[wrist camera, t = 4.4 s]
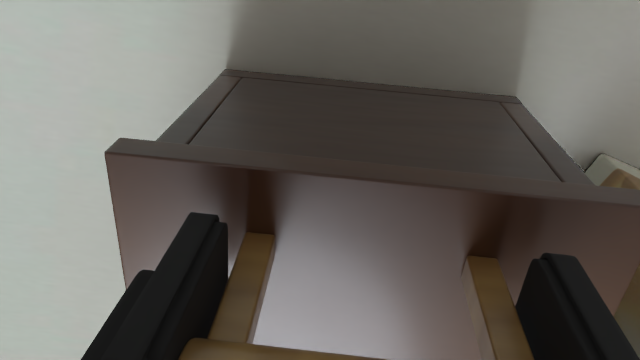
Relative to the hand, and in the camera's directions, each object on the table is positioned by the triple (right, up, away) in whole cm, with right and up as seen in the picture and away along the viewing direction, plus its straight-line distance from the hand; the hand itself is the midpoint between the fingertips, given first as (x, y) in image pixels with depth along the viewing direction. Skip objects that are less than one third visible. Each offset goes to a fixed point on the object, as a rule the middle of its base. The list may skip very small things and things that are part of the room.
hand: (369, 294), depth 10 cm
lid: (0, -4, +5) cm, 7 cm away
